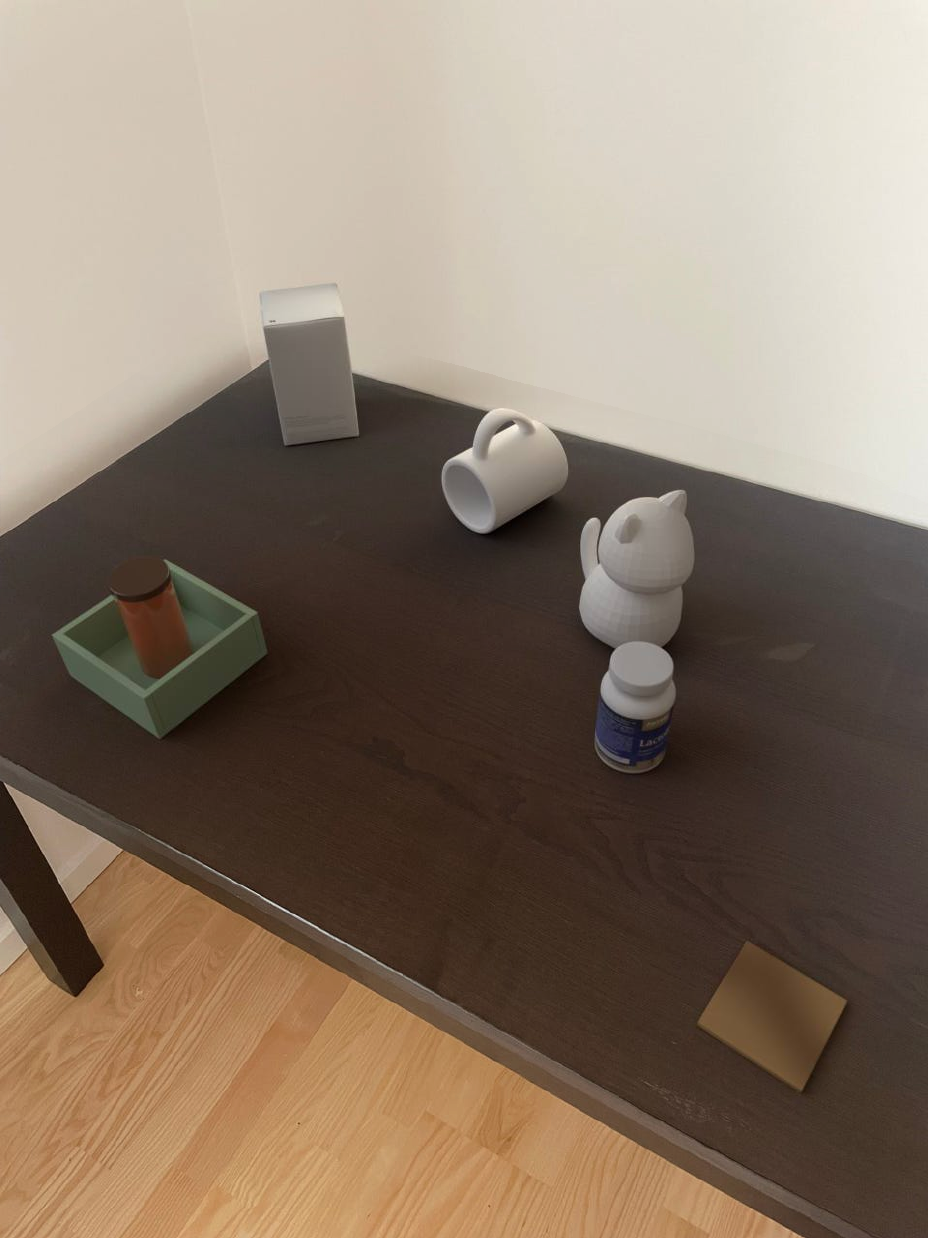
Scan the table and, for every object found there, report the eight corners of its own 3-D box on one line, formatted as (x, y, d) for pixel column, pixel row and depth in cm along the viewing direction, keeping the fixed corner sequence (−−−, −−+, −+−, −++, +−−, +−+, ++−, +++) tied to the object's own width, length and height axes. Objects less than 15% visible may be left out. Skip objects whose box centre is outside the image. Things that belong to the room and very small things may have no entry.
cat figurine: (631, 686, 83) (648, 551, 73) (540, 607, 91) (543, 475, 80) (706, 641, 87) (732, 506, 77) (612, 569, 94) (624, 437, 84)
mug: (567, 504, 102) (572, 404, 94) (496, 548, 97) (495, 446, 89) (512, 472, 107) (513, 374, 99) (442, 512, 102) (436, 412, 94)
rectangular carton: (361, 437, 113) (345, 316, 103) (284, 447, 112) (260, 326, 102) (353, 397, 119) (338, 280, 109) (280, 407, 118) (257, 289, 108)
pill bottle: (646, 787, 76) (660, 702, 69) (581, 757, 78) (588, 671, 71) (677, 738, 79) (693, 652, 72) (614, 711, 81) (623, 625, 74)
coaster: (800, 1094, 59) (802, 1091, 58) (696, 1025, 62) (697, 1022, 62) (845, 1004, 63) (847, 1000, 62) (745, 943, 66) (747, 940, 66)
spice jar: (164, 688, 84) (133, 603, 77) (127, 664, 86) (94, 579, 80) (208, 655, 87) (181, 570, 80) (171, 632, 89) (143, 548, 82)
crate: (159, 739, 81) (143, 698, 77) (70, 675, 86) (51, 634, 83) (267, 653, 88) (257, 612, 84) (178, 599, 93) (165, 558, 90)
